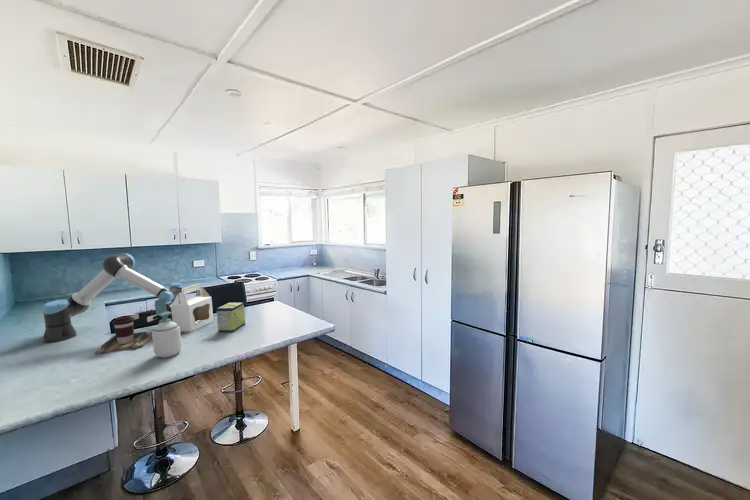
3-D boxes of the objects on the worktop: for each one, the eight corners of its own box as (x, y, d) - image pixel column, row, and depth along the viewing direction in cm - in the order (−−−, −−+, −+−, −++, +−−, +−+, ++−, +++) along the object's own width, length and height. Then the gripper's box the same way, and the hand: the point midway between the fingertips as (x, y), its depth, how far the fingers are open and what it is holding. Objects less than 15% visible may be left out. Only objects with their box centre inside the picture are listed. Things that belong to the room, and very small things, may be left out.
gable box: (190, 332, 206) (186, 289, 203) (172, 331, 208) (168, 289, 205) (213, 320, 228) (210, 282, 225) (197, 320, 230) (193, 282, 227)
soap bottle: (161, 361, 163) (155, 301, 160) (150, 356, 170) (143, 298, 166) (186, 352, 174) (181, 296, 170) (174, 348, 180) (169, 293, 177)
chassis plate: (94, 355, 174) (93, 347, 174) (110, 341, 194) (110, 335, 193) (141, 348, 181) (141, 341, 181) (153, 335, 201) (152, 329, 201)
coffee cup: (112, 346, 181) (109, 320, 180) (117, 341, 190) (114, 316, 188) (134, 343, 186) (131, 317, 184) (137, 337, 194) (135, 313, 193)
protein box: (245, 324, 217) (244, 302, 216) (233, 332, 202) (231, 308, 200) (231, 324, 219) (229, 302, 217) (217, 332, 203) (215, 308, 202)
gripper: (183, 315, 214) (156, 326, 194) (151, 314, 219) (121, 324, 198) (182, 304, 214) (154, 314, 193) (150, 303, 218) (120, 313, 198)
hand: (138, 319), depth 196 cm, fingers open, 13 cm apart
